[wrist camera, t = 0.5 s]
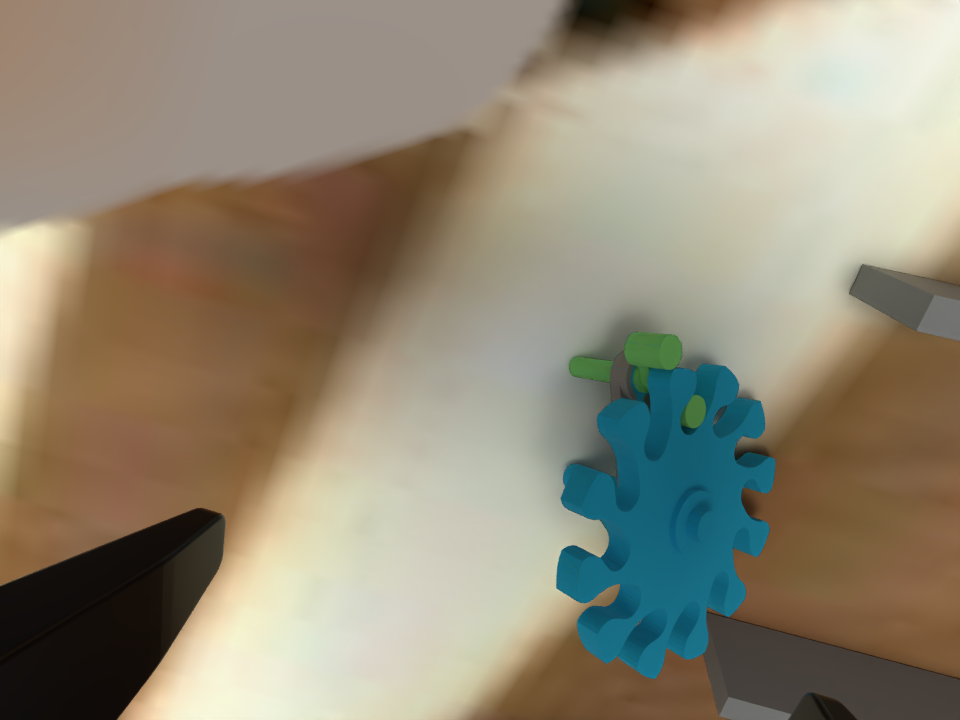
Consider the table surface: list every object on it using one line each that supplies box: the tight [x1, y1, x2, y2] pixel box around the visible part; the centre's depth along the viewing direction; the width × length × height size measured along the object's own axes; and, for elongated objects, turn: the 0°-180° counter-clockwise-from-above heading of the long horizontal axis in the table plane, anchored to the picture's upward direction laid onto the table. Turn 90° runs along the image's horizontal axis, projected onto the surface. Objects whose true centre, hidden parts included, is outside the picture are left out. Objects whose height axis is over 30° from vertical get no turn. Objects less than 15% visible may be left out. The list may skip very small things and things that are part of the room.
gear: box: [556, 332, 776, 679], centre depth 20 cm, size 11×6×10 cm
